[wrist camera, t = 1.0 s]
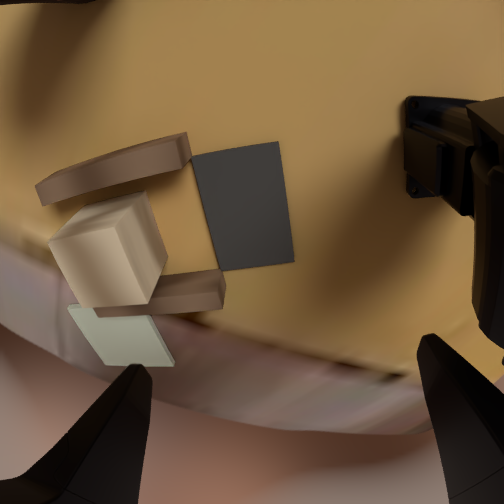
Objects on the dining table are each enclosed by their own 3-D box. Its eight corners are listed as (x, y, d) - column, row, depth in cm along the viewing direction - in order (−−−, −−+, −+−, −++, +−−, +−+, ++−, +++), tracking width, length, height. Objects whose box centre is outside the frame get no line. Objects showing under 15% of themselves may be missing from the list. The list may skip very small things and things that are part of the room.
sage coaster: (142, 299, 23) (140, 304, 22) (175, 361, 27) (173, 366, 27) (69, 304, 24) (67, 308, 23) (107, 360, 28) (105, 365, 27)
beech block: (146, 189, 18) (114, 226, 14) (168, 255, 21) (147, 303, 17) (85, 205, 19) (47, 242, 14) (110, 264, 21) (82, 308, 17)
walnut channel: (186, 131, 16) (175, 140, 14) (226, 285, 22) (222, 309, 20) (55, 172, 17) (34, 185, 15) (109, 296, 23) (98, 317, 21)
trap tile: (278, 141, 16) (278, 142, 16) (294, 259, 20) (294, 261, 20) (192, 156, 17) (191, 157, 17) (221, 268, 21) (221, 271, 21)
